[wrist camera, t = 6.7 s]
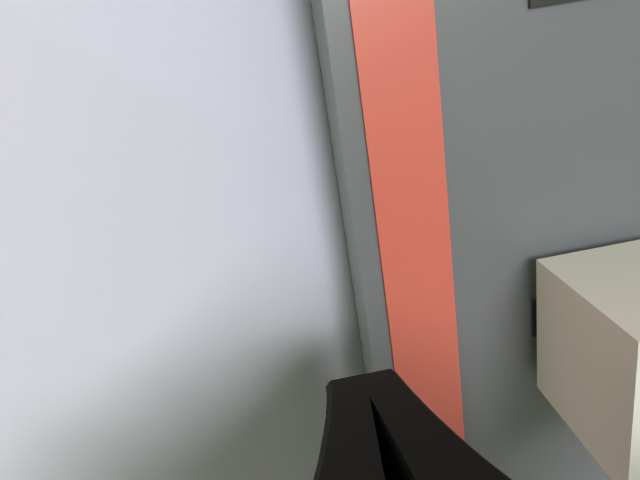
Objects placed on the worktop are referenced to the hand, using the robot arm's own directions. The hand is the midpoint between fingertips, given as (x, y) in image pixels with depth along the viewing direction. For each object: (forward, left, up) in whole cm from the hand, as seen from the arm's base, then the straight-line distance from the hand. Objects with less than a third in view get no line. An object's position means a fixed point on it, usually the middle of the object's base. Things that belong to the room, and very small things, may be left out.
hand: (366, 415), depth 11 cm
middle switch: (0, -6, -2) cm, 6 cm away
